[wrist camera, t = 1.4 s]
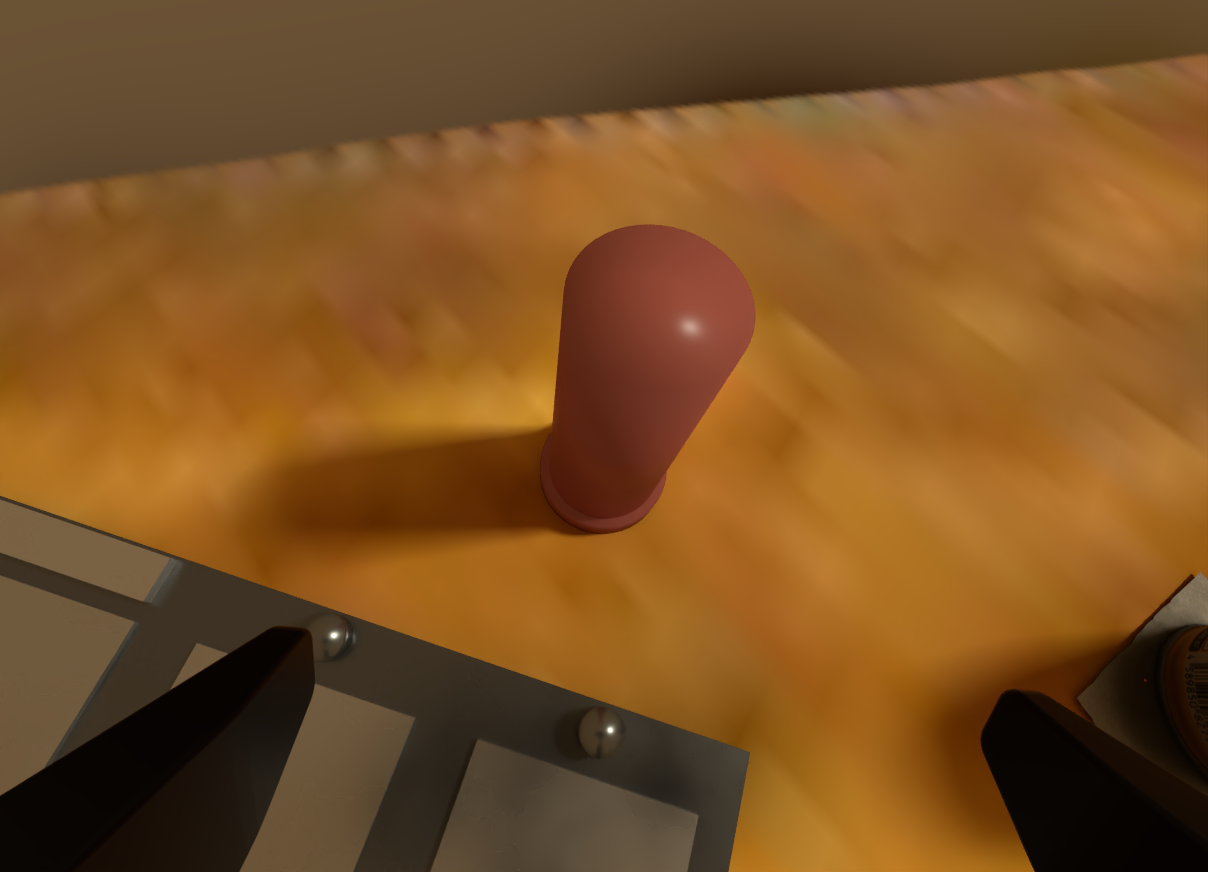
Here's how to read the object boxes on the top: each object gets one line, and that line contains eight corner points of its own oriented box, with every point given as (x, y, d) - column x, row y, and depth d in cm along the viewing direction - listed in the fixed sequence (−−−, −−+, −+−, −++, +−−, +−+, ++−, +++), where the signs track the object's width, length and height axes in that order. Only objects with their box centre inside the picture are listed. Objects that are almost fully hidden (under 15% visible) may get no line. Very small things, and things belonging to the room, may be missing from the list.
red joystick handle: (642, 550, 21) (745, 433, 11) (522, 509, 21) (515, 356, 11) (673, 440, 23) (786, 253, 13) (563, 403, 23) (589, 188, 13)
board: (665, 1171, 15) (678, 1218, 14) (-325, 821, 15) (-404, 835, 14) (743, 750, 19) (759, 755, 18) (-44, 481, 19) (-85, 466, 18)
